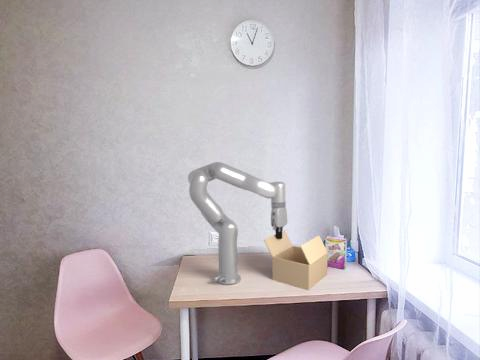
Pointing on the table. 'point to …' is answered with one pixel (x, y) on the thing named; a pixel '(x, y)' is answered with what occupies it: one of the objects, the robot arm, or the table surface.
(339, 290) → the table surface
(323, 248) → the near flap
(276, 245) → the far flap
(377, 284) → the table surface
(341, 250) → the candy bar box
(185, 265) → the table surface
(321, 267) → the carton
